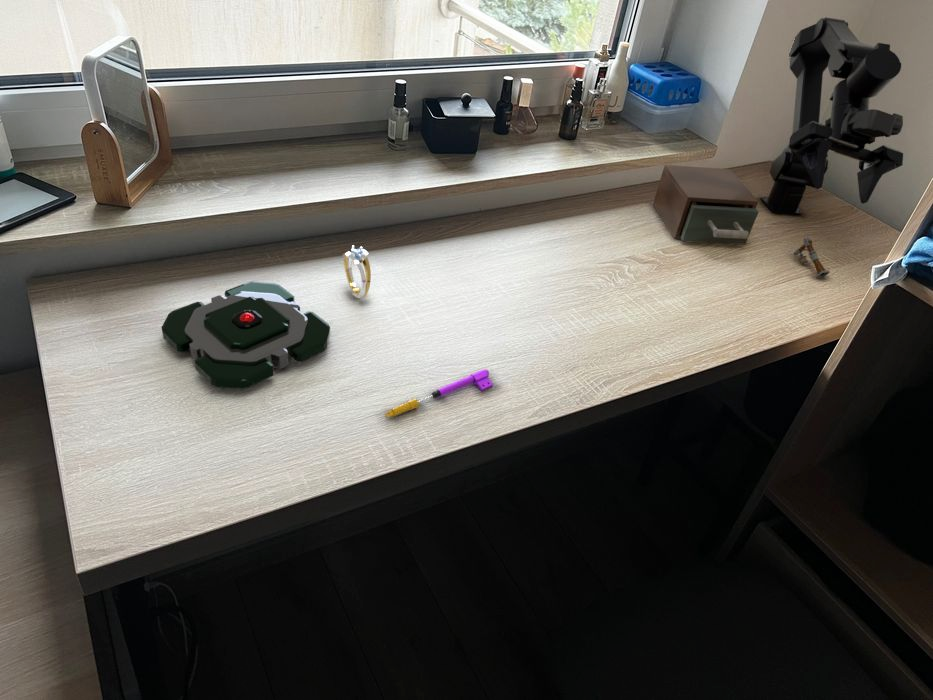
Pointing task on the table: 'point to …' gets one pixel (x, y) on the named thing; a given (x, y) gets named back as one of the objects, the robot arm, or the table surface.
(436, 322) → the table surface
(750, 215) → the drawer
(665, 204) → the cabinet
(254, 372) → the clover-shaped pad
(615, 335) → the table surface
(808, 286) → the table surface
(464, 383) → the purple and gold rod
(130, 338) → the table surface
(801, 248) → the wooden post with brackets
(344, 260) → the ring
